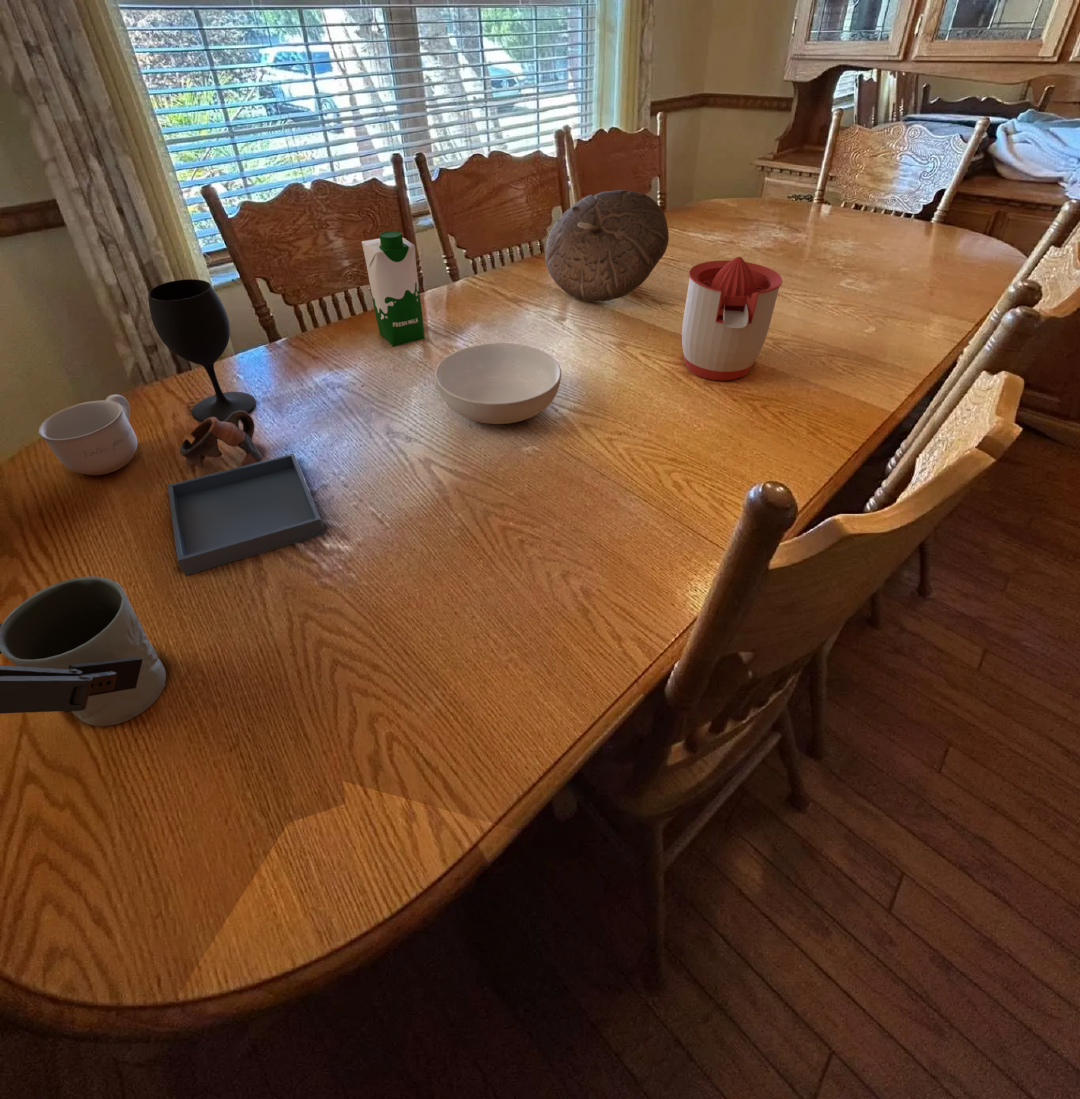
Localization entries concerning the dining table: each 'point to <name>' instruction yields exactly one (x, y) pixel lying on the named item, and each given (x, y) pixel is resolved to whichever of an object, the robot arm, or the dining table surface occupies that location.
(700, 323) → the citrus juicer
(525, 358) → the serving bowl
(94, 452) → the teacup
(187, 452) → the broken clay jug
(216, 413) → the wine glass
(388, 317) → the milk carton
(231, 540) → the dark gray rectangular tray
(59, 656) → the gray ceramic cup
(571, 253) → the brown fungus
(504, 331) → the dining table surface
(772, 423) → the dining table surface
